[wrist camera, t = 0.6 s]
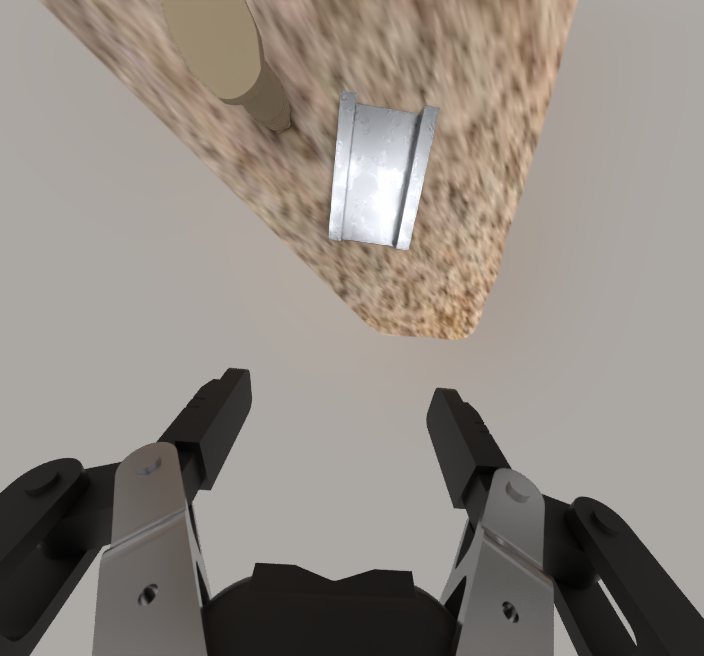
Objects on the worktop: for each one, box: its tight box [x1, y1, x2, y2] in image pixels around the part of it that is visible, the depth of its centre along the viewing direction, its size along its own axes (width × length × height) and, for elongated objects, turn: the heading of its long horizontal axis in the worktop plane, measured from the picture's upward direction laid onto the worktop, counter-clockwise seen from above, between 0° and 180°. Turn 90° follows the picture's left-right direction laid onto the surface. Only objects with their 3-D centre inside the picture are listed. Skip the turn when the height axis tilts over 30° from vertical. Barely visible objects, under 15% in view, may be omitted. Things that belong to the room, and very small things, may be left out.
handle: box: [161, 0, 291, 133], centre depth 21 cm, size 5×6×15 cm
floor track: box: [328, 91, 439, 250], centre depth 30 cm, size 14×10×4 cm
